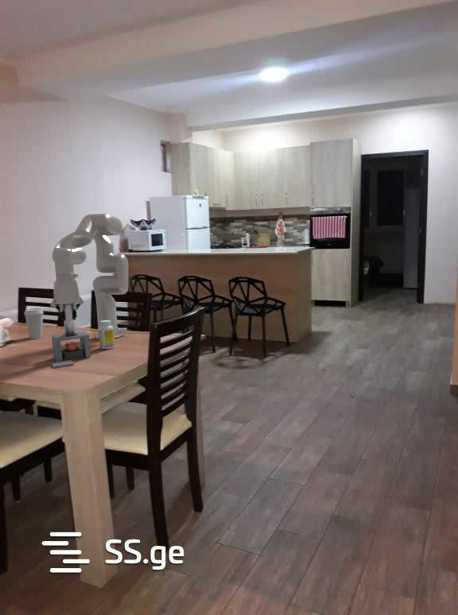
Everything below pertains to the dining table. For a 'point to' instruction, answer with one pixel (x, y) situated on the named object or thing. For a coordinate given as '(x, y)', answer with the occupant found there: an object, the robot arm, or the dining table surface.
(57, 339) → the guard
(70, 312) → the silver metal cylinder
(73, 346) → the button
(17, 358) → the dining table surface
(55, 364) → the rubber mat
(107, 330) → the supplement bottle
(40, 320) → the coffee cup
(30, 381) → the dining table surface
